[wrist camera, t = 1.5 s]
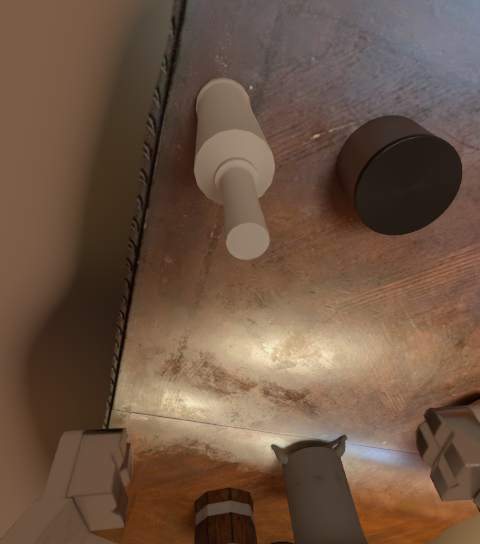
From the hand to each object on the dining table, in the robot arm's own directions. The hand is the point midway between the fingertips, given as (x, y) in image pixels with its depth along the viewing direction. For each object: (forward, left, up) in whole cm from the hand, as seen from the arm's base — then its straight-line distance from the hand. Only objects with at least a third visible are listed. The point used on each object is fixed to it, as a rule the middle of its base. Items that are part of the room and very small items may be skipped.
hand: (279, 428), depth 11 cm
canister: (+14, +12, -34) cm, 39 cm away
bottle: (0, 0, -35) cm, 35 cm away
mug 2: (+66, -18, -35) cm, 77 cm away
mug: (+76, -45, -35) cm, 95 cm away
